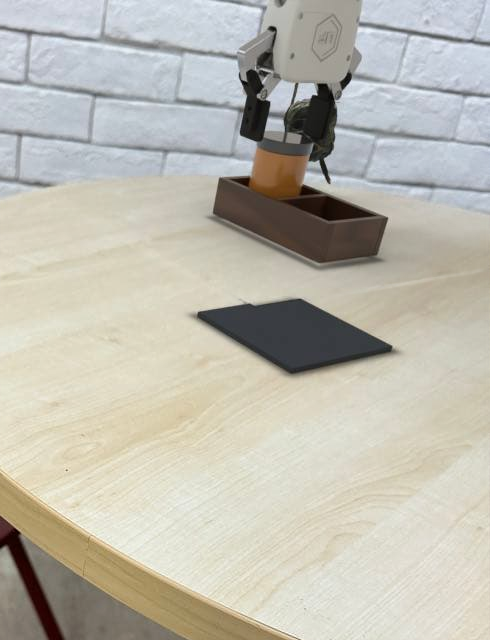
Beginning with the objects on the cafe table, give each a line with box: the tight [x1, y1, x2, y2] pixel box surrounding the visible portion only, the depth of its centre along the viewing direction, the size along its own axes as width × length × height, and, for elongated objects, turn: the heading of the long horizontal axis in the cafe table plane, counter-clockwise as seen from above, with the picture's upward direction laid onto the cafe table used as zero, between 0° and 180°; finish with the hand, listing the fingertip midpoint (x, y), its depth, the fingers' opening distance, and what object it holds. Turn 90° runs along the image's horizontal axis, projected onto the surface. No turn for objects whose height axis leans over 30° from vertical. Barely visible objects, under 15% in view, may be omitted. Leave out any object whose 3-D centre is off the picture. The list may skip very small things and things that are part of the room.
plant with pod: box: [282, 83, 340, 185], centre depth 107 cm, size 8×11×20 cm
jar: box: [248, 130, 314, 198], centre depth 97 cm, size 6×6×9 cm
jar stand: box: [212, 174, 389, 264], centre depth 96 cm, size 9×18×5 cm, turn 33°
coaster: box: [196, 297, 393, 374], centre depth 74 cm, size 12×12×1 cm
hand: (282, 137), depth 94 cm, fingers open, 9 cm apart
